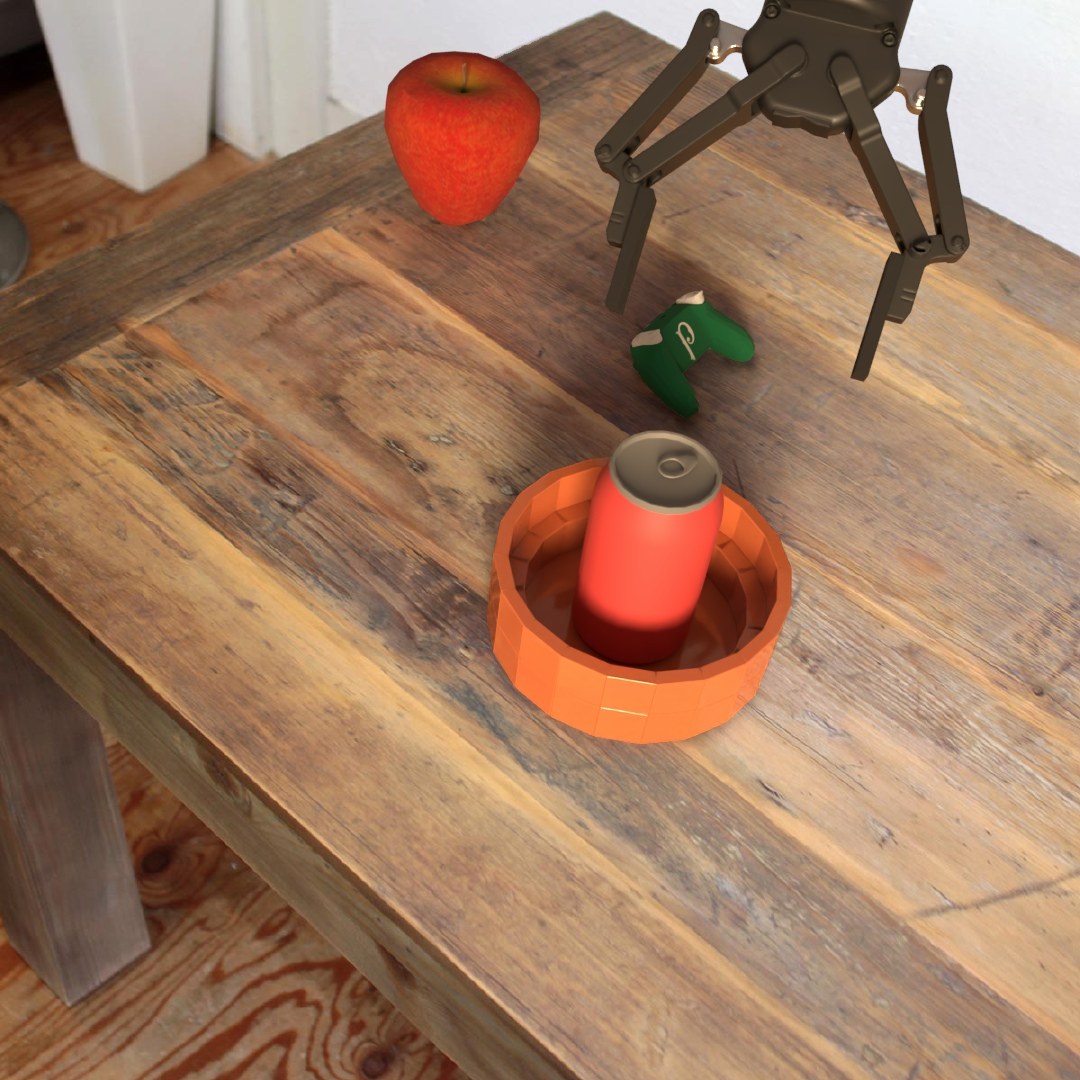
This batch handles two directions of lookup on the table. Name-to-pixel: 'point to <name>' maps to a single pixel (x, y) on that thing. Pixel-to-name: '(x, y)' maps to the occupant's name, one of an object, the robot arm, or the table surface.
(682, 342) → the gaming controller
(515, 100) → the apple
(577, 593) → the beer can
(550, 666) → the bowl
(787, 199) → the table surface
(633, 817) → the table surface
